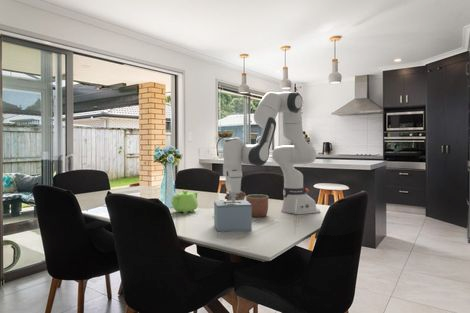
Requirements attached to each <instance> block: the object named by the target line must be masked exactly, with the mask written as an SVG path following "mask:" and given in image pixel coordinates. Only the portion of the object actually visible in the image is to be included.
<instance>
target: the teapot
mask: <svg viewBox="0 0 470 313" xmlns="http://www.w3.org/2000/svg"><path fill="white" fill-rule="evenodd" d="M197 198H198V192H194V193H193V192H189V191H188V190H182V192H180V193H176V195H173V196H172V200H171V205H172V208H173V209H174V211H175V213H180V212H183V213H182V214H184V215H187V214H188V212H191V213H196V210H197V208H198V206H199V204H198V199H197Z"/></svg>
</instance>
